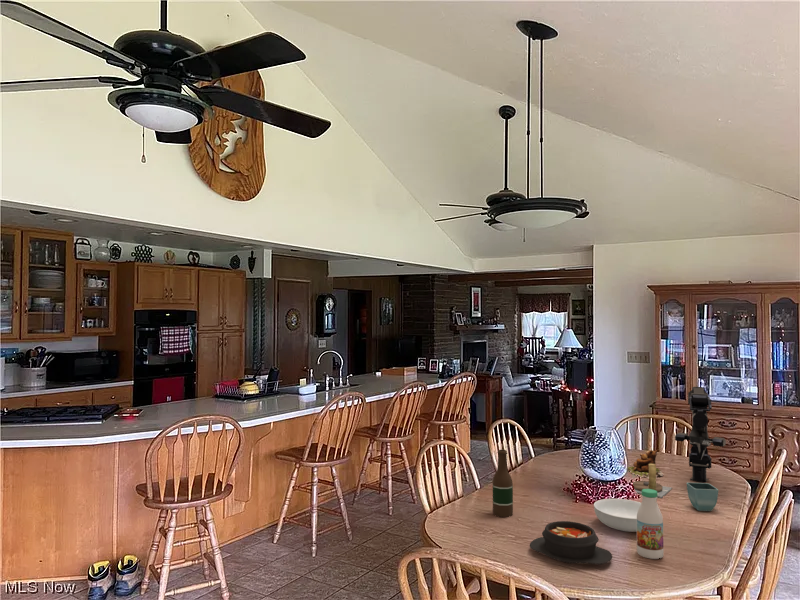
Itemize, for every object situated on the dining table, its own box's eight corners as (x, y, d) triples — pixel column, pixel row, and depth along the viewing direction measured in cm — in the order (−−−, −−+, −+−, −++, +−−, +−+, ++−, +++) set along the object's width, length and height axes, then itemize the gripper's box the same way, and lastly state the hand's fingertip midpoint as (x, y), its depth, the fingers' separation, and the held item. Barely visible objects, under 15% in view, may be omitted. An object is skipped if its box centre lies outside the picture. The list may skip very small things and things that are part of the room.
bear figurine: (644, 468, 283) (644, 443, 284) (668, 476, 269) (668, 450, 269) (622, 471, 278) (622, 445, 279) (645, 479, 264) (645, 453, 265)
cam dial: (627, 483, 254) (627, 458, 254) (654, 483, 254) (654, 457, 255) (639, 492, 242) (639, 465, 242) (668, 492, 242) (667, 465, 242)
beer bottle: (515, 512, 220) (515, 449, 221) (510, 519, 213) (509, 453, 214) (495, 509, 223) (495, 447, 224) (489, 515, 216) (489, 451, 217)
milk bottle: (632, 549, 185) (631, 487, 186) (655, 549, 186) (654, 486, 186) (644, 560, 178) (643, 494, 178) (668, 559, 178) (667, 493, 179)
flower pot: (709, 505, 228) (709, 482, 228) (719, 513, 219) (719, 489, 219) (686, 505, 229) (685, 482, 229) (695, 512, 220) (694, 489, 220)
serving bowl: (628, 542, 191) (627, 521, 191) (581, 522, 210) (581, 503, 210) (670, 532, 201) (670, 512, 201) (622, 513, 219) (621, 495, 219)
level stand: (634, 482, 260) (634, 480, 260) (672, 489, 249) (672, 487, 249) (621, 490, 247) (621, 488, 247) (661, 498, 237) (661, 496, 237)
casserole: (618, 554, 182) (617, 527, 182) (605, 577, 166) (604, 547, 166) (540, 538, 195) (540, 513, 195) (521, 558, 179) (521, 530, 179)
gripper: (671, 423, 248) (671, 459, 248) (720, 428, 236) (720, 467, 236) (678, 419, 257) (678, 455, 256) (725, 424, 245) (726, 461, 244)
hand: (700, 459), depth 248 cm, fingers closed
